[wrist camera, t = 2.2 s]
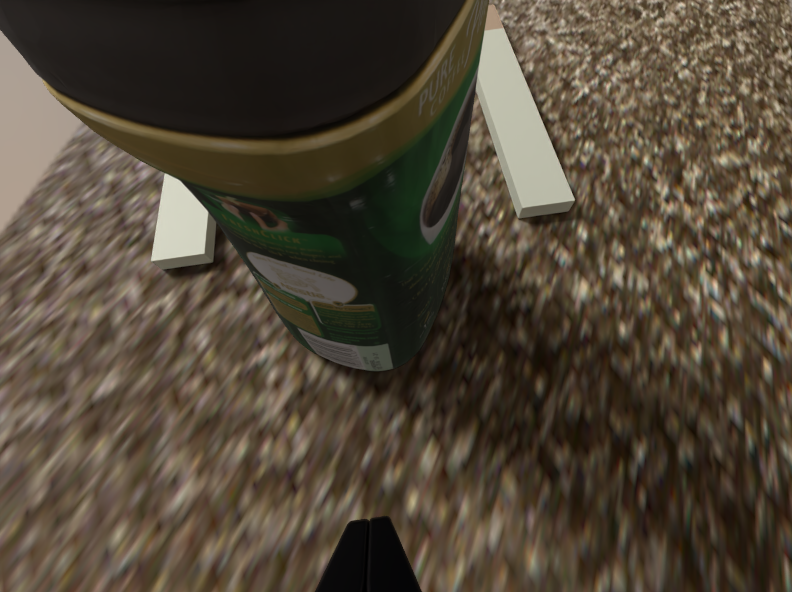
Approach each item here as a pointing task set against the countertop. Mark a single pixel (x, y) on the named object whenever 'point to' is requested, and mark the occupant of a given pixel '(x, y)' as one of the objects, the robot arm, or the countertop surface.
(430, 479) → the countertop surface
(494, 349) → the countertop surface
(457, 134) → the coffee jar
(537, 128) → the frame
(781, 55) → the countertop surface
